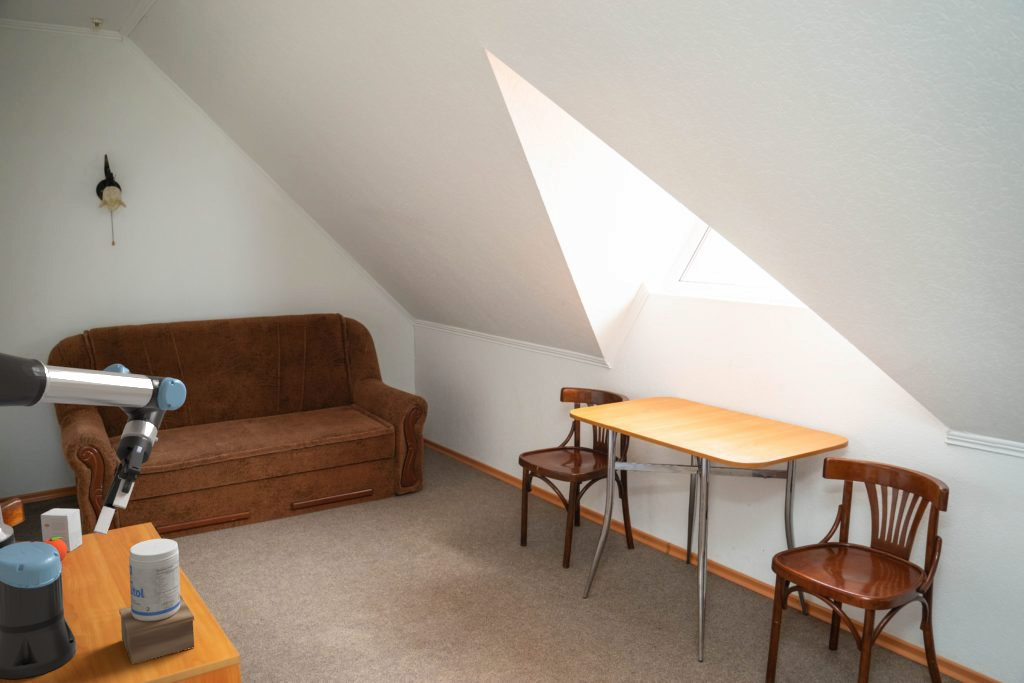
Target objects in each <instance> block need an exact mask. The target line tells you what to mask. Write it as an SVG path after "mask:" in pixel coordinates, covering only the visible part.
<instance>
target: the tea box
mask: <svg viewBox="0 0 1024 683" xmlns="http://www.w3.org/2000/svg"><path fill="white" fill-rule="evenodd" d="M118 611H119V612H118V613H119V615H120V623H121V624H120V626H121V641H122V640H123V641H122V643H123V645H124V648H125V650H127V651H126V653H127V655H128V658H129V660H130V662H132V663H131V664H133V665H135V664H134V663H137V664H139V663H138V662H140V663H143V662H142V661H144V662H146V660H148V661H150V660H149V659H151V660H154V659H153V658H155V659H158V658H157V657H159V658H161V657H160V656H162V657H165V656H164V655H166V656H168V655H167V654H170V655H172V654H171V653H173V654H176V653H175V652H177V653H179V652H178V651H181V652H183V651H182V650H184V649H188V648H191V649H193V648H192V647H194V648H195V634H194V621H195V616H194V614H193V613H192V611H191V609H190V608H189V606H188V604H187V603H186V602H185V600H184V599H183V597H182V595H181V594H180V608H179V610H178V611H177V612H176V613H175V614H174V615H172V616H170V617H168V618H165V619H162V620H158V621H140V620H137V619H135V618H134V617H133V616H132V613H131V606H128V607H123V608H119V609H118ZM188 650H189V649H188ZM184 651H185V650H184Z"/></svg>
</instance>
